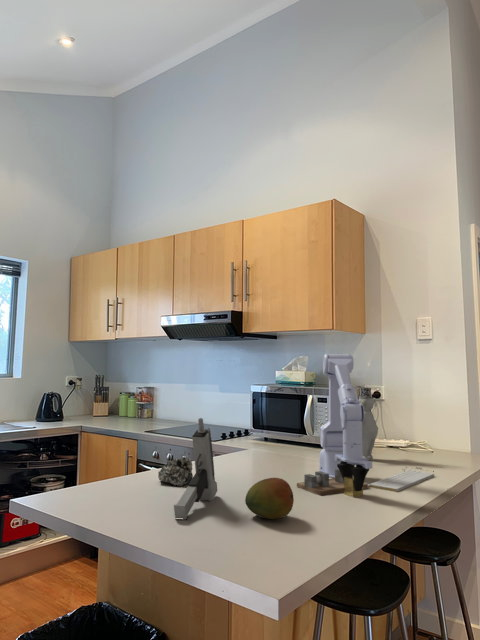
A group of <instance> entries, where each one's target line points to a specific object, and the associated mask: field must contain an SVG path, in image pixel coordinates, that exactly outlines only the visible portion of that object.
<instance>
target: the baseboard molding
mask: <svg viewBox="0 0 480 640" xmlns="http://www.w3.org/2000/svg"><path fill="white" fill-rule="evenodd" d="M422 468H423V467H416V470H415V468H413V467H412V470H411V469H409V470H404V469H403V468H402V472H400V473H397V474H394V475H391V476H388V477H385V478H383V479H380V480H376V481H375V482H371V483H369V484H368V488H372V489H378V490H384V491H389V492H395V493H398V492H400V491H403V490H404V489H407V488H409V487H412V486H414V485H416V484H418V483H421V482H423V481H425V480H428V479H431V478H432V477H435V473H434V472H435V471H434V470H433V471H432V472H433V473H432V472H426V471H429V470H427V469H426V471H424V472H422V470H423V469H422ZM405 469H408V467H407V466H405ZM413 469H414V470H413ZM417 470H420V471H417Z"/></svg>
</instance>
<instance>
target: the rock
mask: <svg viewBox="0 0 480 640" xmlns="http://www.w3.org/2000/svg"><path fill="white" fill-rule="evenodd" d="M193 477H194V475H193V463H192V460H191V458H190V457H185V456H182V457H180V458H175V459H172V460H169V461H168V460H167V461H166V463H165V464H164V466H162V467H161V468H160V470H159V471H158V481H160V482H162V483H169V484H171V485H173V486H176V485H177V486H178V487H181V486H185V485H186V484H189V483H190V481H191V480H192V478H193ZM177 486H176V487H177Z"/></svg>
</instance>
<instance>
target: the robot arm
mask: <svg viewBox="0 0 480 640" xmlns="http://www.w3.org/2000/svg"><path fill="white" fill-rule="evenodd" d="M354 361H355V360H354V357H353V355H352V354H351V353H345V354H343V353H340V354H339V353H324V355H323V357H322V373H323V376H325V377H327V380H328V421H327V422H326V423H325V424H323V425H322V426H321V429H320V436H319V438H320V439H319V440H320V441H319V442H320V446H321V448H322V449H321V451H320V452H319V454H318V457H319V459H318V460H319V461H318V463H319V464H318V465H319V466H318V467H319V470H318V471H321V472H325V473H328V474H329V478H335V469H339V470H340V472H341V475H342V478H343V481H344V477H348V476H352V475H353V477H354V487H355V491H362V488H363V483H364V484H365V480H366V477H367V475H368V473H369V471H370V469H373V461H370V460H366V459H364V458H362V423H361V422H363V420H364V408H363V404H362V403H361V402H360V401H359V396H358V393H357V390H356V387H355V386H354V385H352V383H351V382H352V381H351V375H350V374H351V373H352V371H353V369H354Z"/></svg>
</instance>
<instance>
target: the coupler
mask: <svg viewBox="0 0 480 640" xmlns="http://www.w3.org/2000/svg"><path fill="white" fill-rule="evenodd" d="M343 494H344V495H345V496H349V497H352V498H356V497H361V496H364V489H363V488H362V491H355V487H354V477H353V476H348V477H344V492H343Z"/></svg>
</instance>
